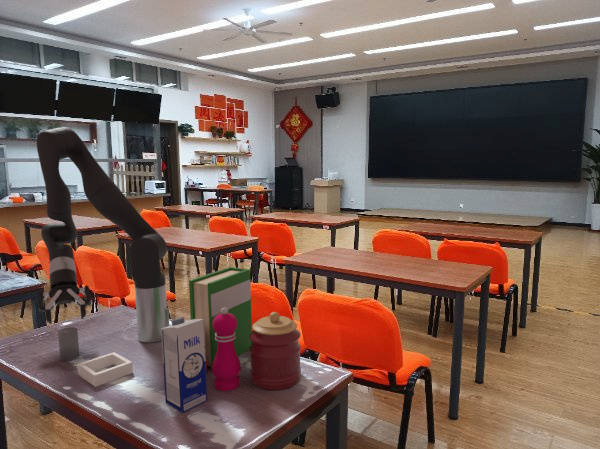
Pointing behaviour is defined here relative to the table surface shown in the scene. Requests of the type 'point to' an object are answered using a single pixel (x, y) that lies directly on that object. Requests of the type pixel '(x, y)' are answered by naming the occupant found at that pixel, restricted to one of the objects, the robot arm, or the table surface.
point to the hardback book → (223, 306)
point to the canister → (275, 353)
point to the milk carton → (184, 363)
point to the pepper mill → (225, 352)
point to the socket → (96, 379)
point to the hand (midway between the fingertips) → (66, 320)
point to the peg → (68, 343)
